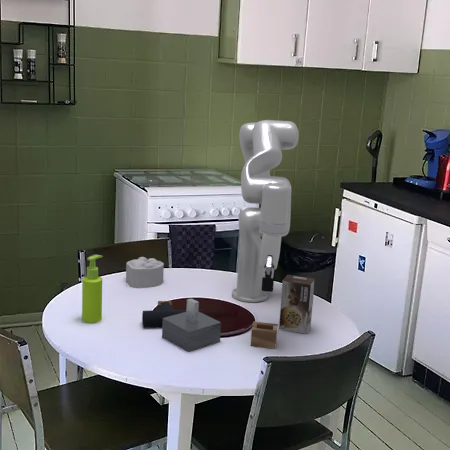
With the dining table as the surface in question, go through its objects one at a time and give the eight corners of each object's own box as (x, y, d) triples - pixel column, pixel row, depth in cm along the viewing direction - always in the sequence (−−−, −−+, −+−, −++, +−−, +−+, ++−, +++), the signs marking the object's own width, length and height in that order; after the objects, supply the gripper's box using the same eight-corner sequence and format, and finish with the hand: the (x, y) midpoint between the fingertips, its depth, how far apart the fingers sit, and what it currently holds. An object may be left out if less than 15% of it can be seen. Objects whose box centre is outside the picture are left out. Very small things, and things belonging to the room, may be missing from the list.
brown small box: (252, 337, 195) (253, 321, 193) (276, 339, 194) (277, 324, 193) (250, 346, 188) (251, 329, 187) (275, 348, 188) (276, 332, 186)
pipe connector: (140, 299, 205) (187, 298, 208) (140, 315, 206) (187, 313, 210) (144, 314, 194) (193, 312, 198) (143, 330, 196) (192, 329, 199)
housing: (193, 327, 198) (195, 290, 196) (219, 341, 190) (222, 302, 187) (161, 337, 190) (163, 298, 188) (188, 352, 182) (190, 311, 179)
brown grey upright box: (311, 327, 205) (316, 278, 201) (306, 334, 199) (311, 284, 195) (282, 321, 208) (287, 273, 204) (277, 329, 202) (282, 279, 198)
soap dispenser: (107, 317, 203) (108, 255, 198) (94, 324, 196) (94, 261, 191) (91, 313, 205) (92, 252, 200) (78, 320, 199) (78, 257, 194)
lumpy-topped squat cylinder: (123, 279, 237) (124, 256, 235) (158, 276, 243) (158, 254, 241) (132, 289, 228) (132, 265, 226) (167, 286, 234) (168, 262, 231)
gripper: (261, 219, 191) (257, 275, 195) (257, 233, 175) (252, 294, 179) (287, 221, 190) (282, 277, 195) (285, 236, 174) (280, 297, 178)
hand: (268, 285), depth 187 cm, fingers open, 9 cm apart
